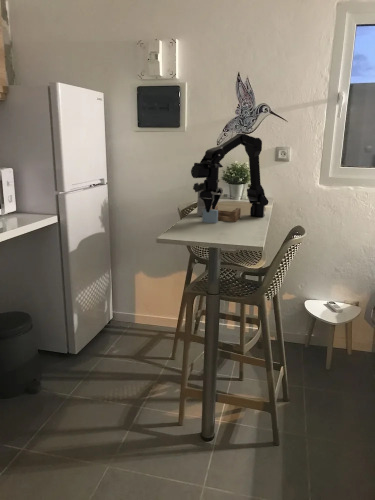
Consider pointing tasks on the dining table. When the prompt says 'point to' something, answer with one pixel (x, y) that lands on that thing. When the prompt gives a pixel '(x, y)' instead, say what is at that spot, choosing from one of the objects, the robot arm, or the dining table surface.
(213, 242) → the dining table surface
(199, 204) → the coffee box
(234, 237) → the dining table surface
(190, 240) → the dining table surface
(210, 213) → the blue-gray rectangular block
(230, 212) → the brown frame
